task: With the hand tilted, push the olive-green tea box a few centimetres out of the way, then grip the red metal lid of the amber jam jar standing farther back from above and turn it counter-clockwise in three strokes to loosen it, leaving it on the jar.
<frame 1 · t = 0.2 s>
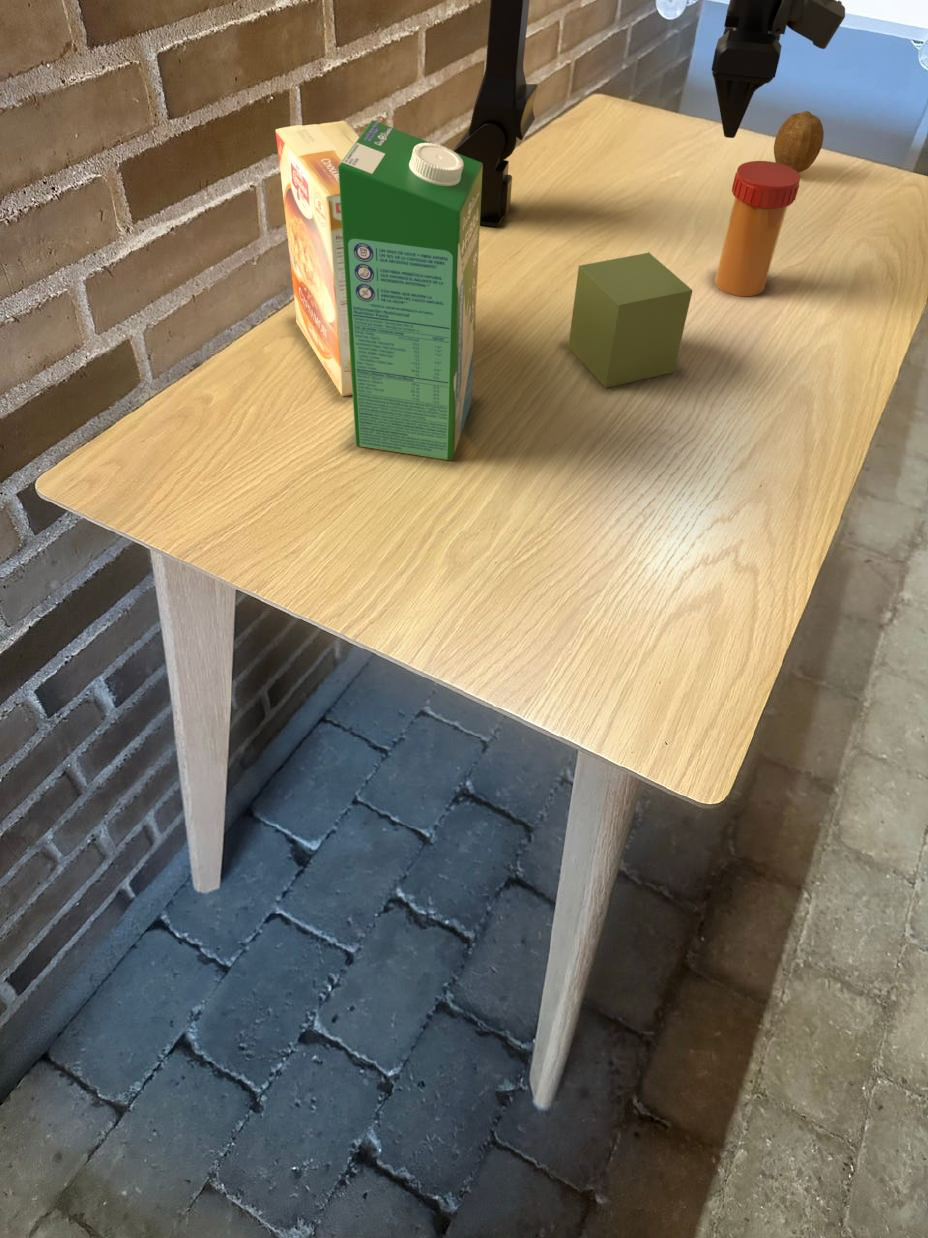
hand: (732, 121, 103), 15 cm above the table, tool pointing down, fingers open, 9 cm apart
tea box: (620, 359, 97), on the table
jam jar: (739, 284, 108), on the table
coffeecake box: (349, 353, 96), on the table
lid: (767, 177, 99), point 12 cm above the table, screwed on, not yet turned
fruit: (789, 174, 130), on the table
milk carton: (415, 426, 88), on the table
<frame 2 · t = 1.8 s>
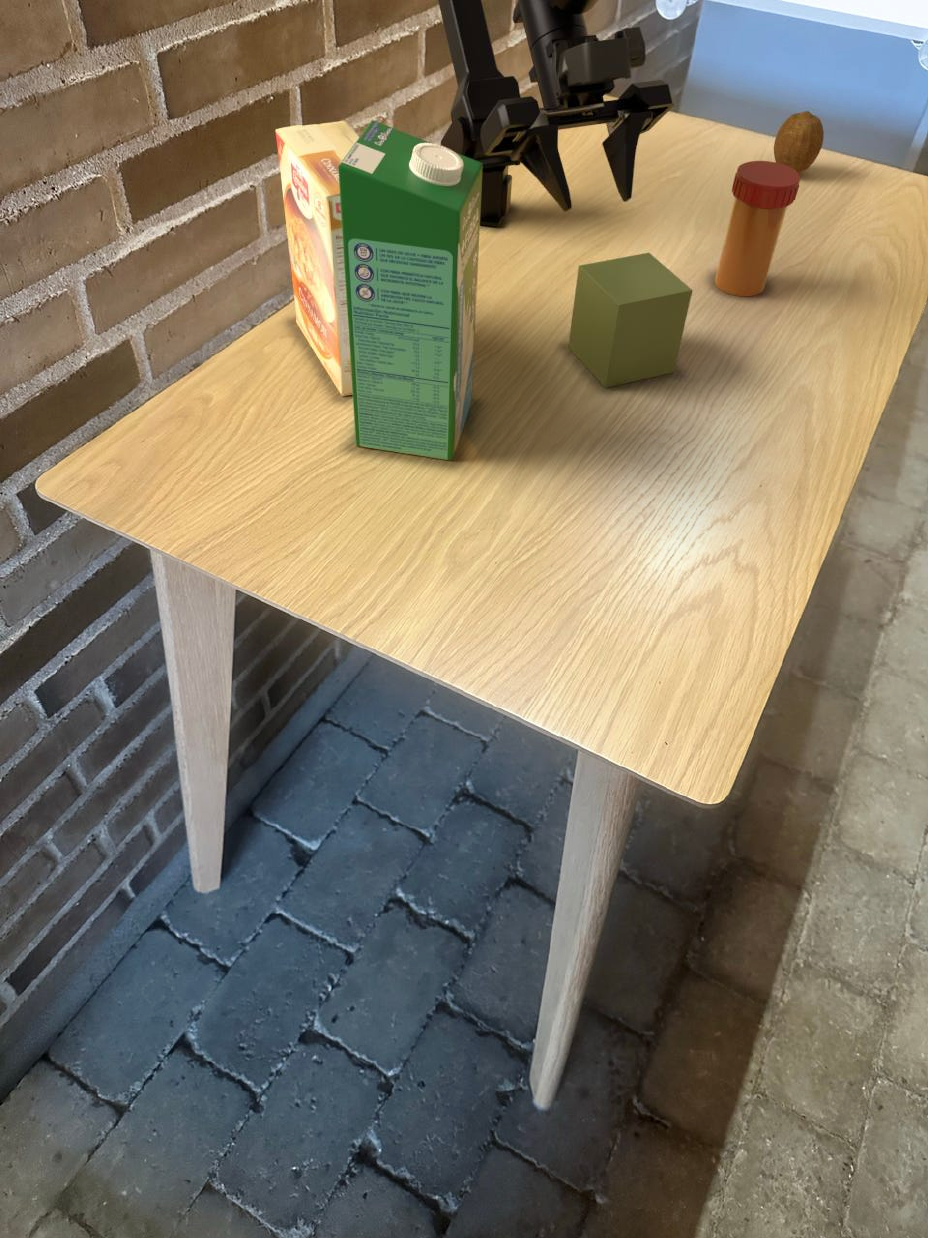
hand: (598, 204, 92), 13 cm above the table, tool tilted 45°, fingers open, 6 cm apart
nothing on the table moved.
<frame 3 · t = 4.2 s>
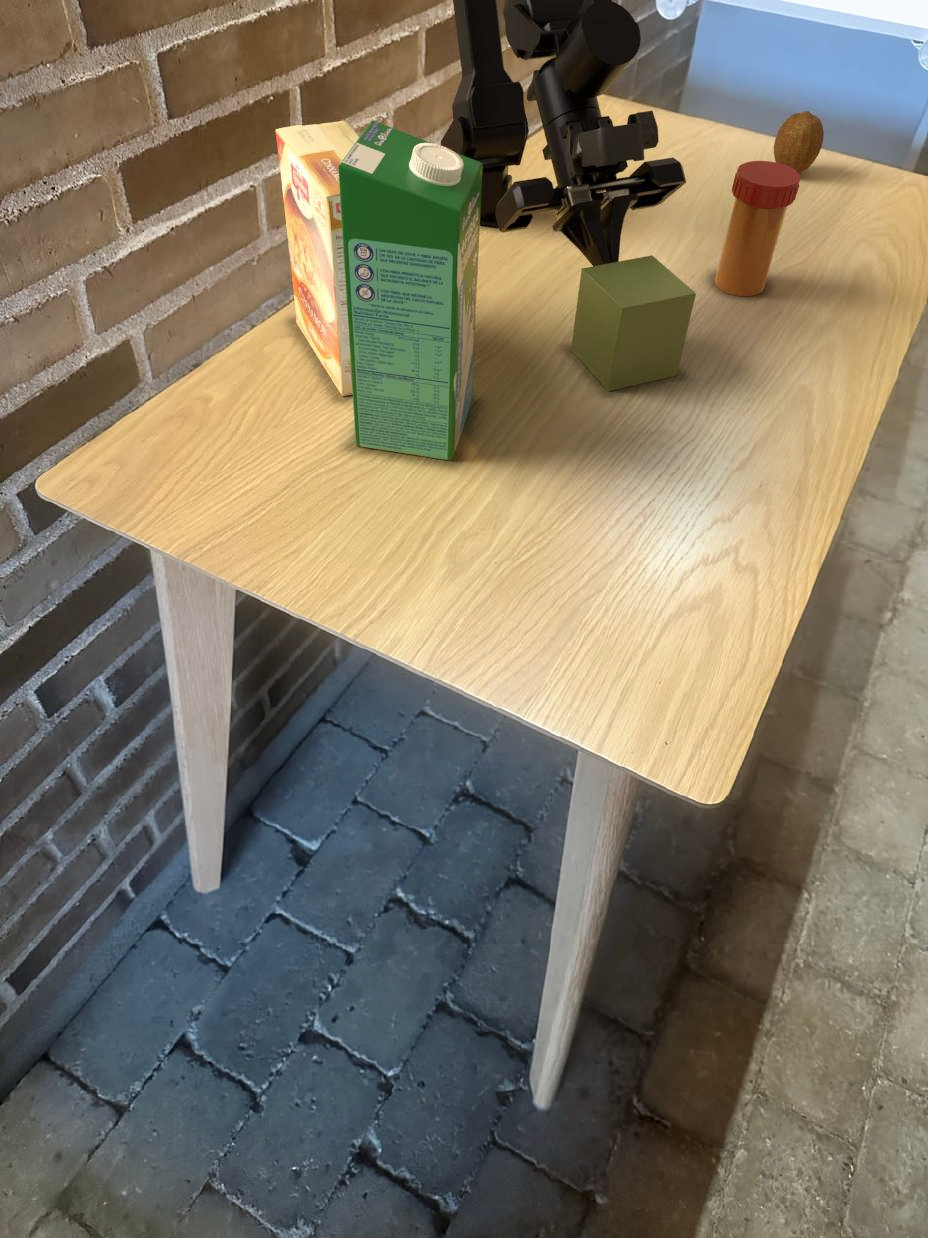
hand: (611, 279, 94), 7 cm above the table, tool tilted 45°, fingers closed, pressing on tea box
tea box: (623, 362, 96), on the table, touching gripper
everything else where it was.
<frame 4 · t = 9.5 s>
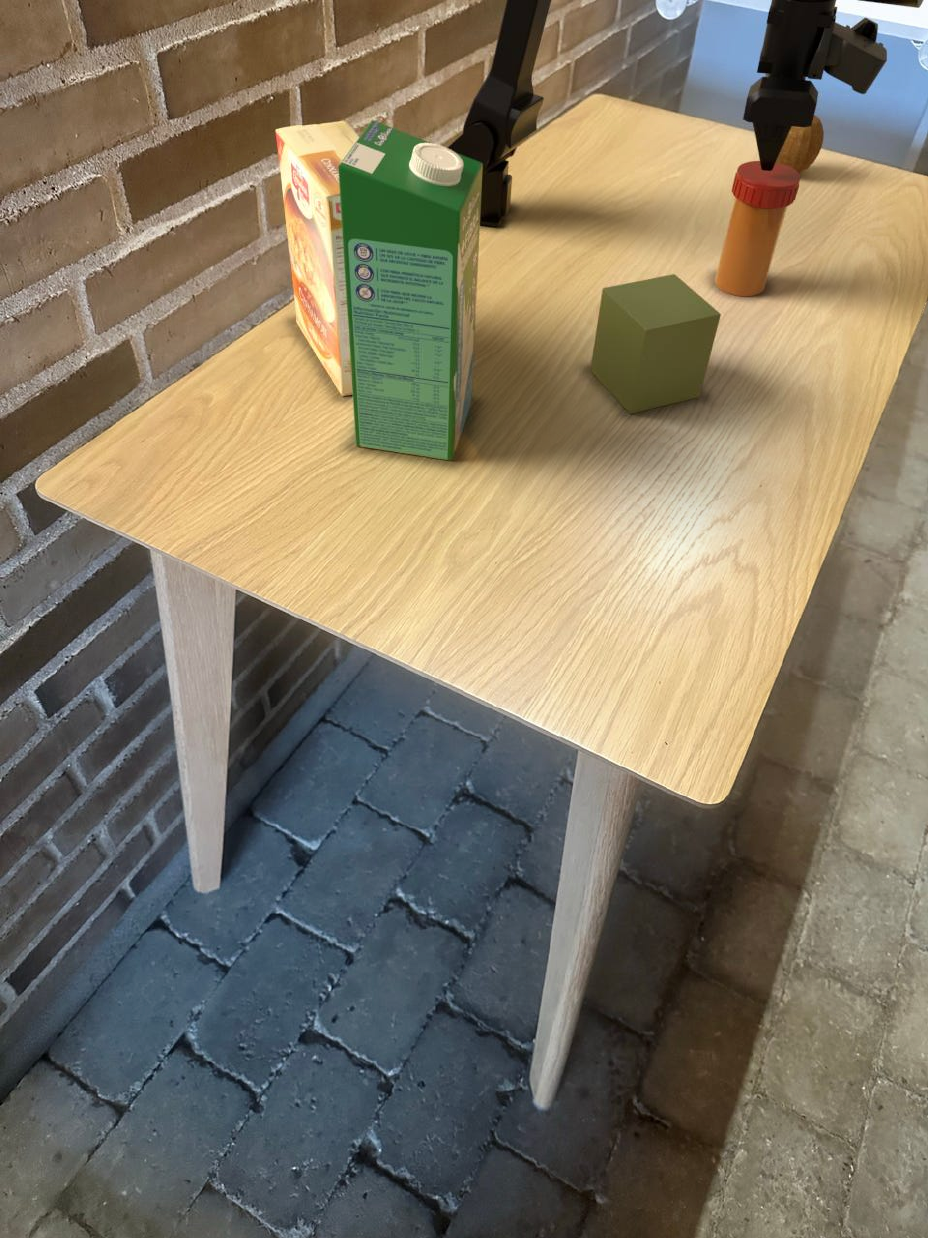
hand: (766, 169, 98), 13 cm above the table, tool pointing down, fingers closed
tea box: (644, 383, 94), on the table
everything else where it was.
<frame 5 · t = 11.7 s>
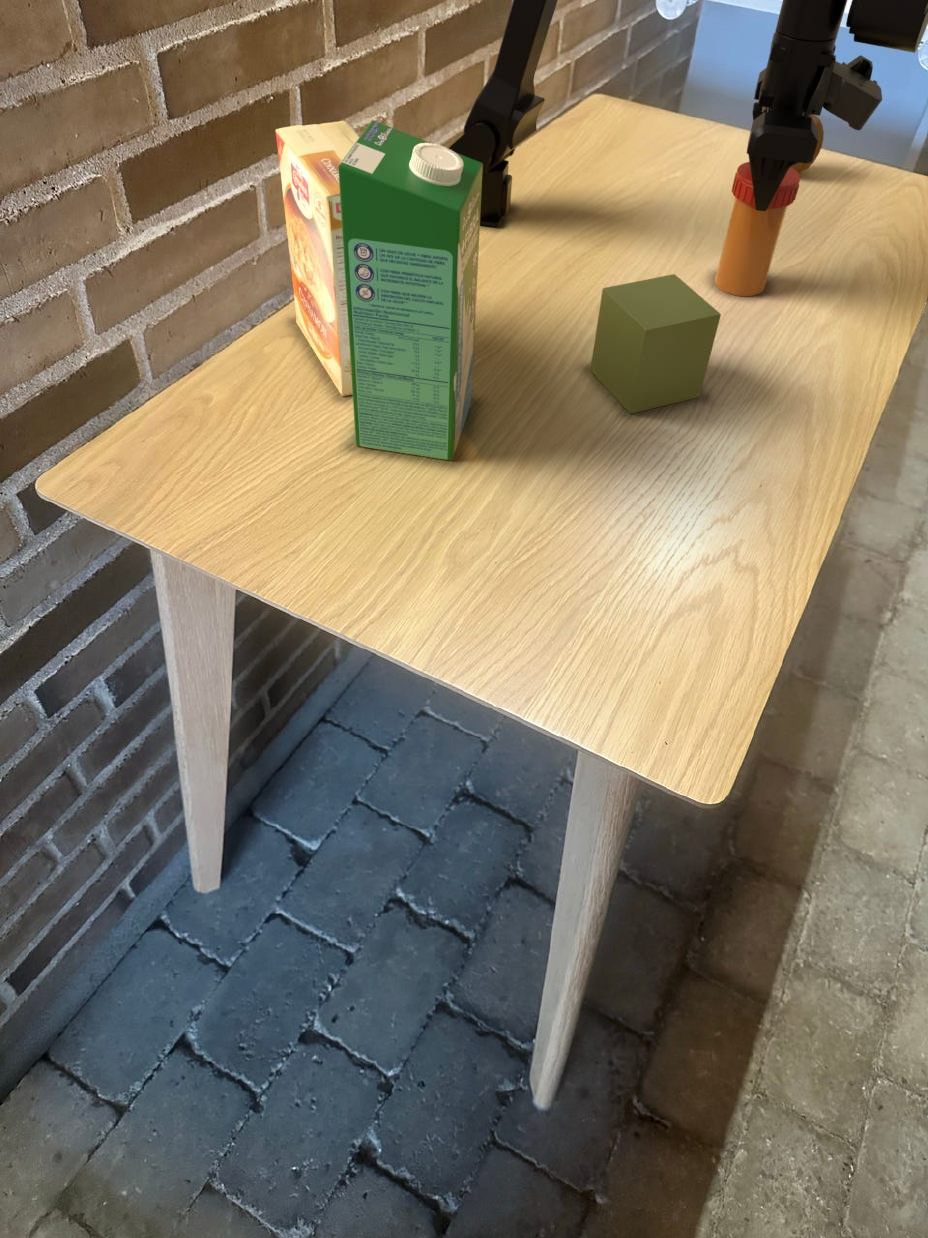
hand: (762, 196, 101), 10 cm above the table, tool pointing down, fingers closed on lid, 6 cm apart
lid: (767, 176, 99), point 12 cm above the table, screwed on, not yet turned, touching gripper
everything else where it was.
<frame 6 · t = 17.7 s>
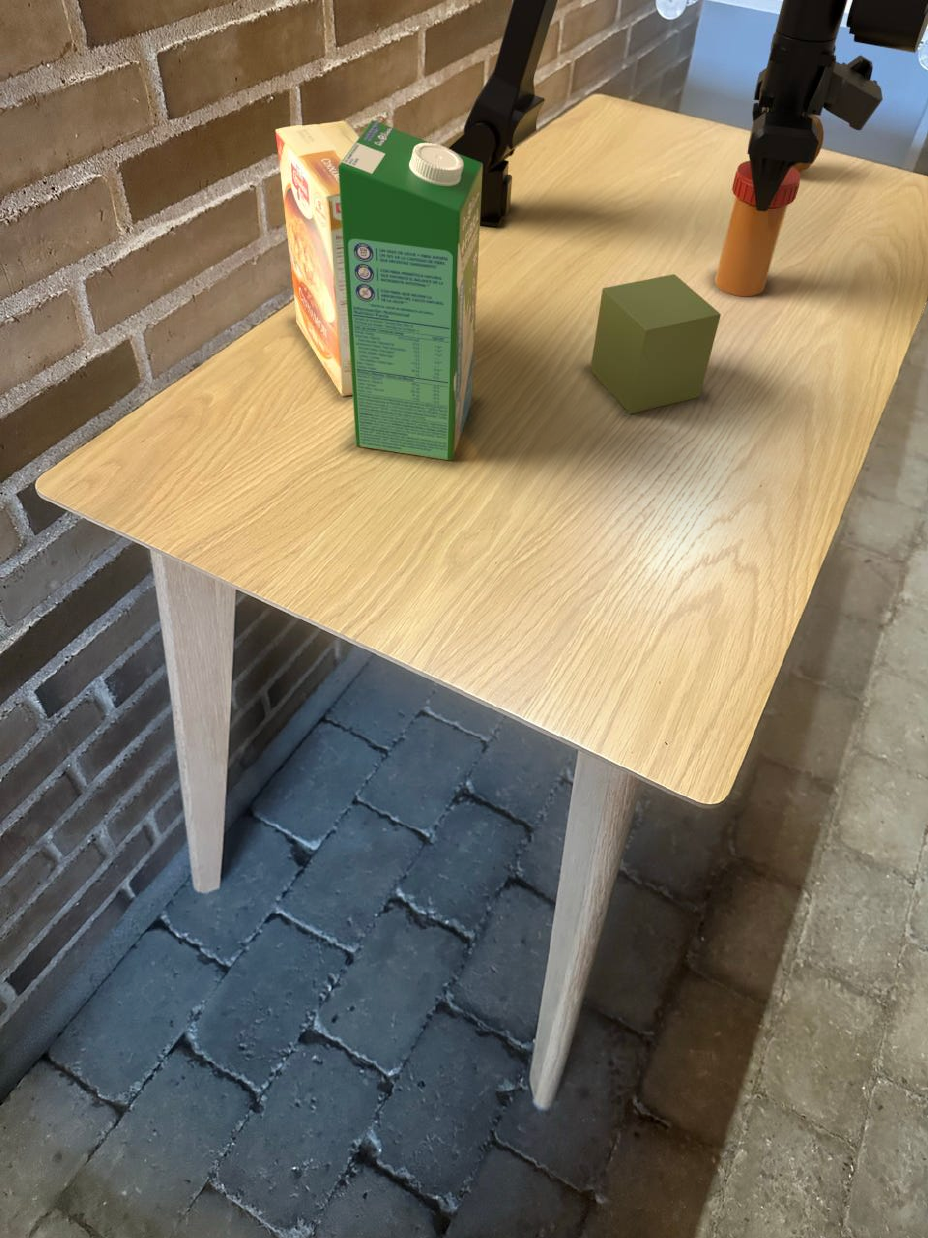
hand: (762, 197, 101), 10 cm above the table, tool pointing down, fingers closed on lid, 6 cm apart
lid: (768, 175, 99), point 12 cm above the table, turned 90° so far, risen 0.1 cm, still on its thread, touching gripper
everything else where it was.
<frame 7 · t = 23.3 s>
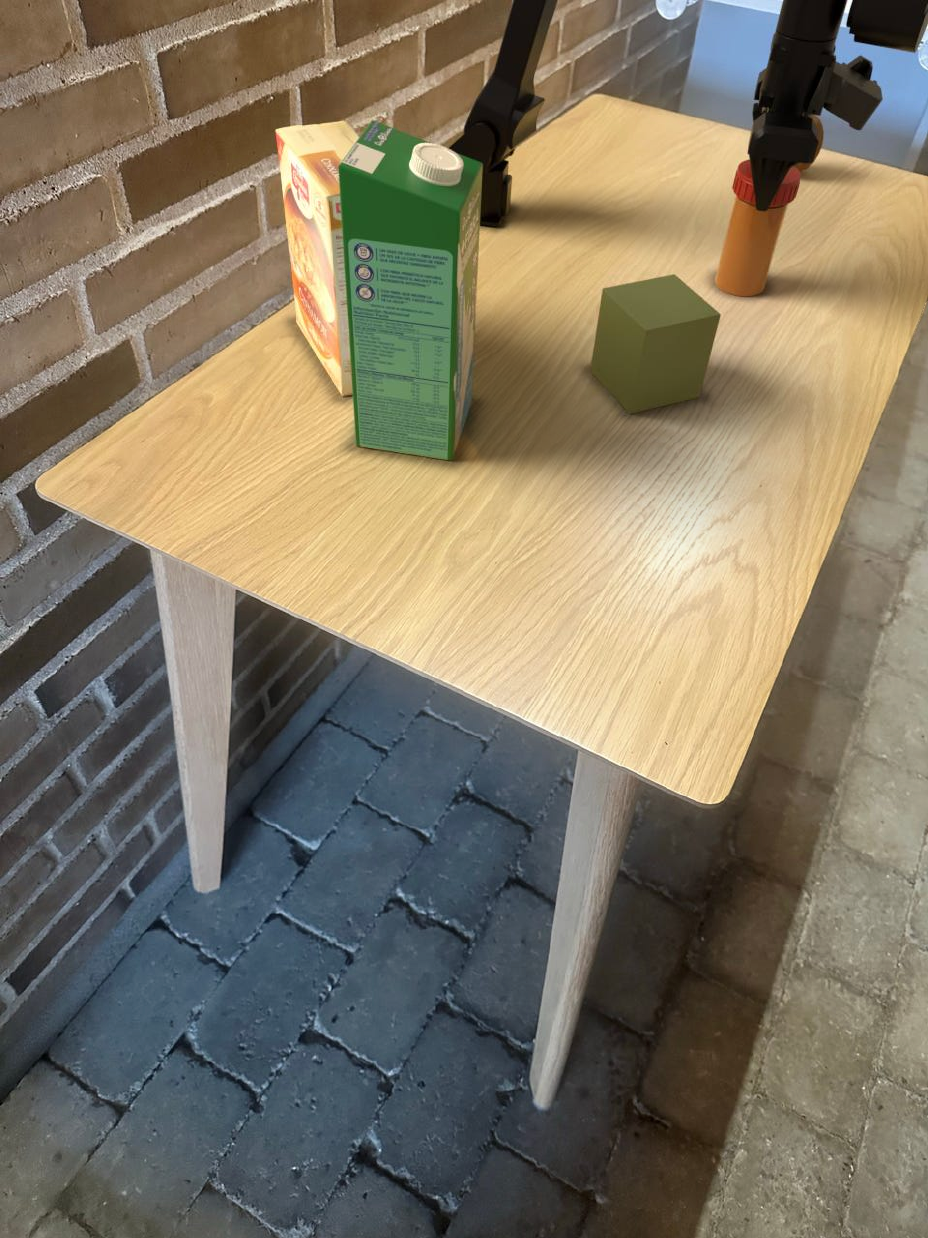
hand: (762, 197, 101), 10 cm above the table, tool pointing down, fingers closed on lid, 6 cm apart
lid: (768, 174, 99), point 12 cm above the table, turned 179° so far, risen 0.2 cm, still on its thread, touching gripper
everything else where it was.
when the fingers open (6 cm above the table, at t = 26.9 s): lid stays where it is, point 12 cm above the table.
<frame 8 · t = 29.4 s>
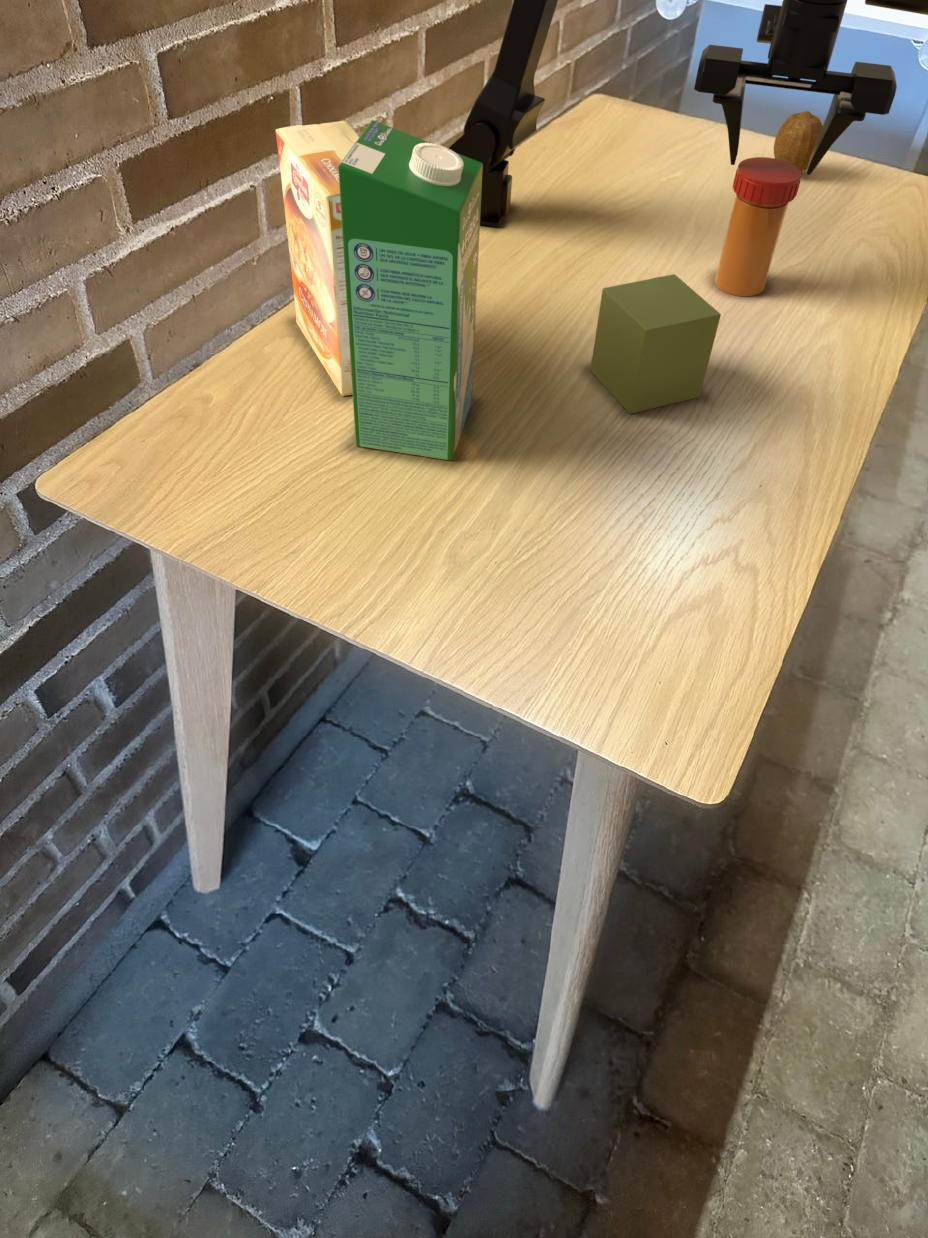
hand: (770, 168, 98), 13 cm above the table, tool pointing down, fingers open, 7 cm apart
lid: (768, 173, 99), point 12 cm above the table, turned 269° so far, risen 0.4 cm, still on its thread
everything else where it was.
at the end: lid turned 0.75 turns (still on its thread); lid is still on its thread (0.75 turns); tea box moved 4.7 cm from its start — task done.
